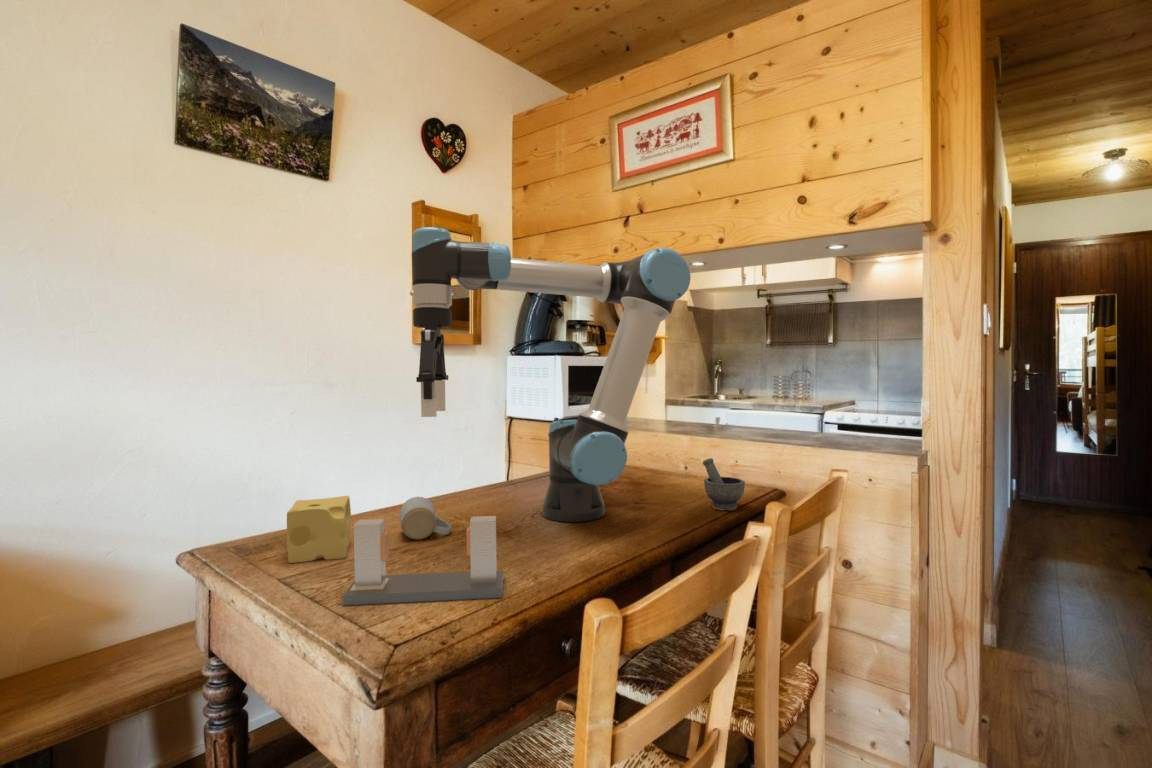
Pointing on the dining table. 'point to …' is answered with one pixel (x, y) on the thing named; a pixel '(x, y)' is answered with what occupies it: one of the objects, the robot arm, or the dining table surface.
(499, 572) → the rail
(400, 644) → the dining table surface
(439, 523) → the ceramic mug
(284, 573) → the dining table surface
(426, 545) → the dining table surface
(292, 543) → the cheese
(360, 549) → the loose carton
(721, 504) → the mortar and pestle
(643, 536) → the dining table surface
